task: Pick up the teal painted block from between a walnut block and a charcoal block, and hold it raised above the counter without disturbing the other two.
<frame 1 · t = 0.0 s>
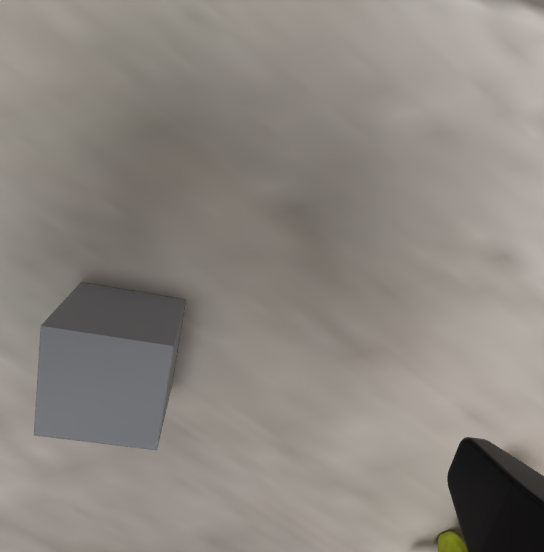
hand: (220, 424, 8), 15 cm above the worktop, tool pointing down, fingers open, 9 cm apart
charcoal block: (128, 336, 24), on the worktop
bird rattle: (475, 505, 29), on the worktop
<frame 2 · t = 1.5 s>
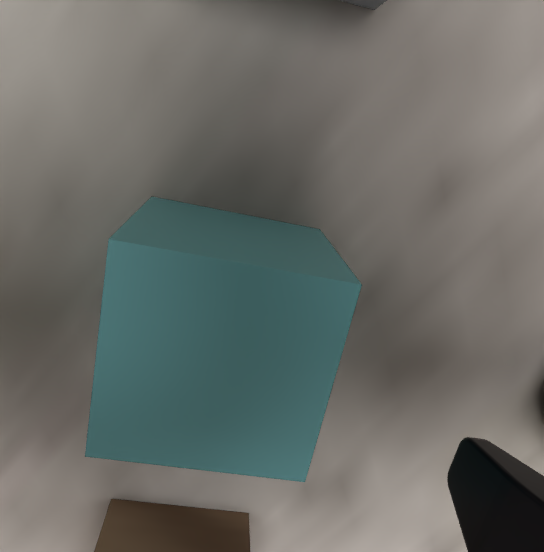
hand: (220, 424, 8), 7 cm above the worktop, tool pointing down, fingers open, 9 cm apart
teal block: (222, 290, 15), on the worktop
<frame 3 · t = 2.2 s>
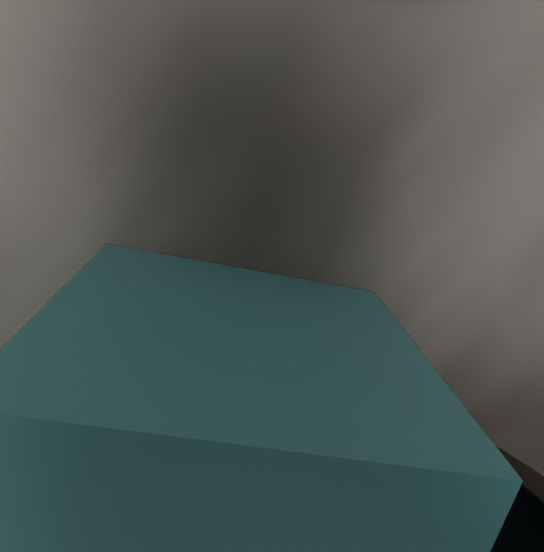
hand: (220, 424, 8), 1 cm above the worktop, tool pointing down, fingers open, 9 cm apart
teal block: (221, 383, 9), on the worktop
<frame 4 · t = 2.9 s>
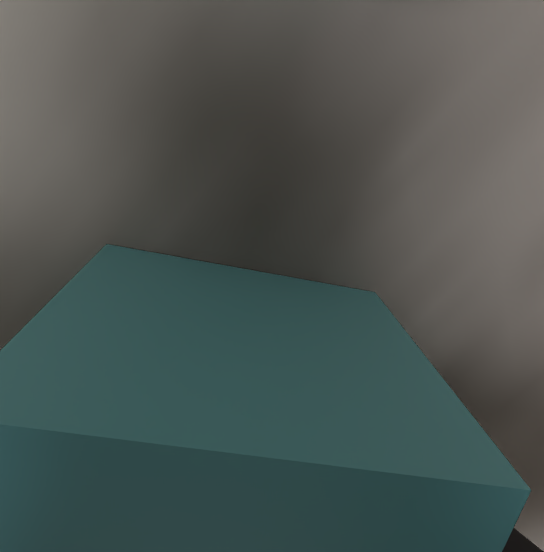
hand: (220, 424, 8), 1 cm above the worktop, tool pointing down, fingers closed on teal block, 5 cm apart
teal block: (222, 386, 9), on the worktop, touching gripper
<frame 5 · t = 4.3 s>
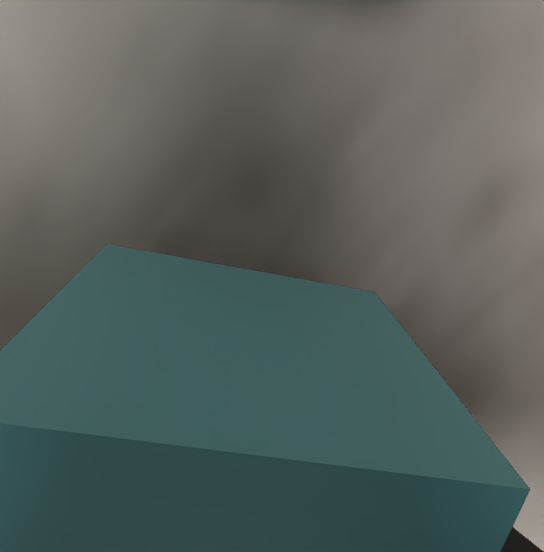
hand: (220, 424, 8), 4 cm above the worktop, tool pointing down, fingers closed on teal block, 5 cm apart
teal block: (222, 385, 9), point 3 cm above the worktop, touching gripper
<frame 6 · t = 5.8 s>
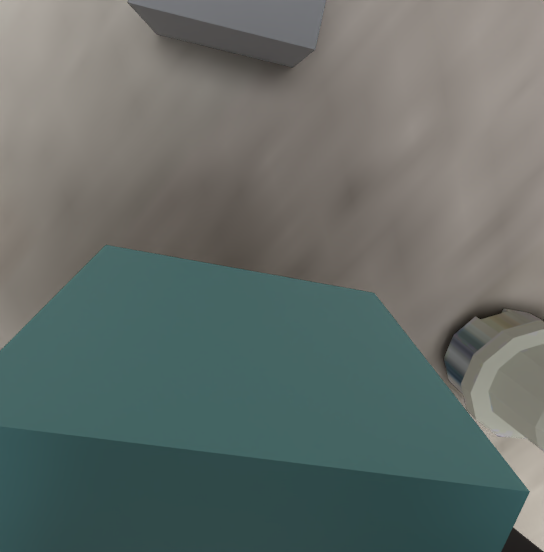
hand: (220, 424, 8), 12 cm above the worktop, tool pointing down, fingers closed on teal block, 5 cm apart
teal block: (221, 386, 9), point 11 cm above the worktop, touching gripper
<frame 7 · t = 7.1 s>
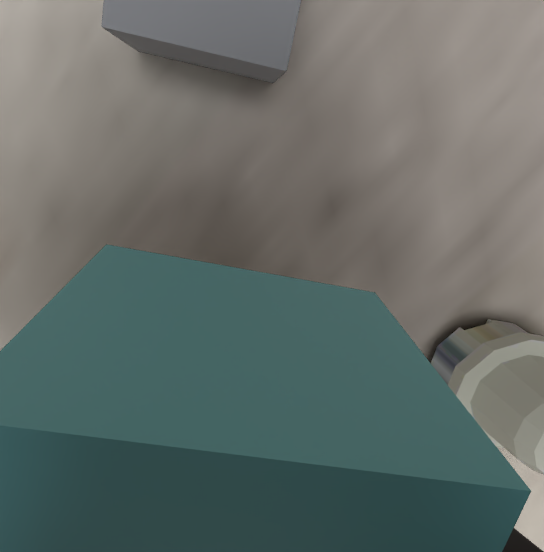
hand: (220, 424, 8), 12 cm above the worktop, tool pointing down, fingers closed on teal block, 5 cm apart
teal block: (221, 386, 9), point 11 cm above the worktop, touching gripper
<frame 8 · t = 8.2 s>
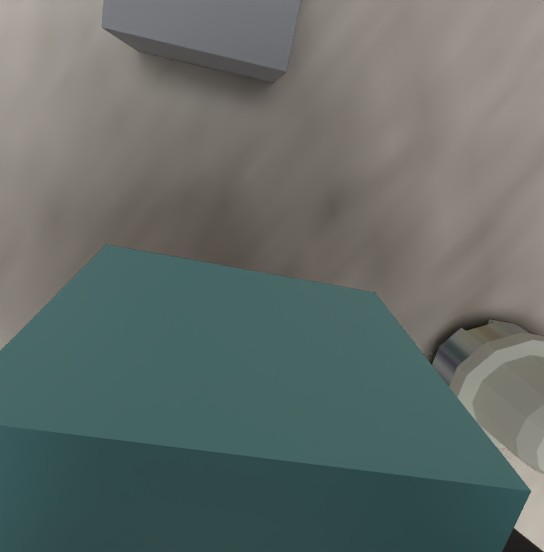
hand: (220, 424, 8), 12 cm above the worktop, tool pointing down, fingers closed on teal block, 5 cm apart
teal block: (221, 386, 9), point 11 cm above the worktop, touching gripper
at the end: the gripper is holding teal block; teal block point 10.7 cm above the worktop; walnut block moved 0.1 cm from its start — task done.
